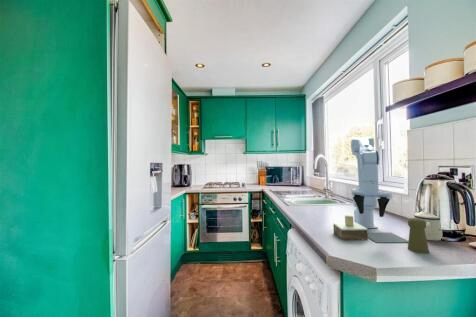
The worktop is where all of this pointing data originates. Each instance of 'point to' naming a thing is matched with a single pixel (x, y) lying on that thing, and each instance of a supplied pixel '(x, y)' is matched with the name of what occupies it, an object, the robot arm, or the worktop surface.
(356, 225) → the lid
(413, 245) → the olive pepper mill
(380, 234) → the slate mat
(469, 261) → the worktop surface
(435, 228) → the teacup with lid
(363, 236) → the box
